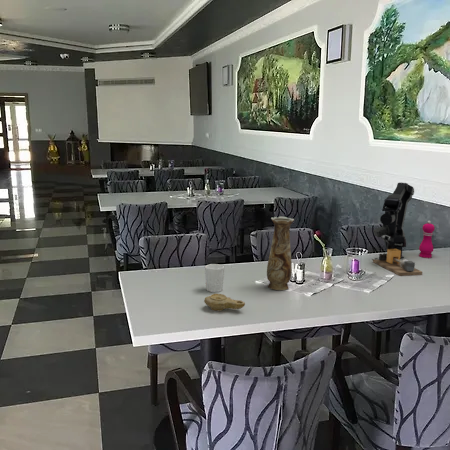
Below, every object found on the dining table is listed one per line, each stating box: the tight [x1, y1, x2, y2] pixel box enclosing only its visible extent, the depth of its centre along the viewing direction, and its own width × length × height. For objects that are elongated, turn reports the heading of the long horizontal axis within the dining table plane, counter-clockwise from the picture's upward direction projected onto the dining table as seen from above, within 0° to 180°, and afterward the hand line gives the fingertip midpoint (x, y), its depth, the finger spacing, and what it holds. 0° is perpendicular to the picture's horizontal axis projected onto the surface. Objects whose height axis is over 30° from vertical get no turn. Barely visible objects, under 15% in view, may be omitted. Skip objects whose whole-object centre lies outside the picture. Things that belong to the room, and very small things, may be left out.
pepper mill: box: [418, 220, 435, 259], centre depth 262 cm, size 7×7×20 cm
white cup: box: [204, 263, 225, 293], centre depth 201 cm, size 8×8×10 cm
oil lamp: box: [203, 293, 246, 312], centre depth 180 cm, size 11×14×5 cm
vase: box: [266, 215, 295, 291], centre depth 204 cm, size 10×11×30 cm
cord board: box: [372, 252, 423, 277], centre depth 239 cm, size 24×12×6 cm, turn 13°
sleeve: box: [386, 249, 401, 264], centre depth 242 cm, size 4×5×6 cm
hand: (388, 252), depth 247 cm, fingers closed
